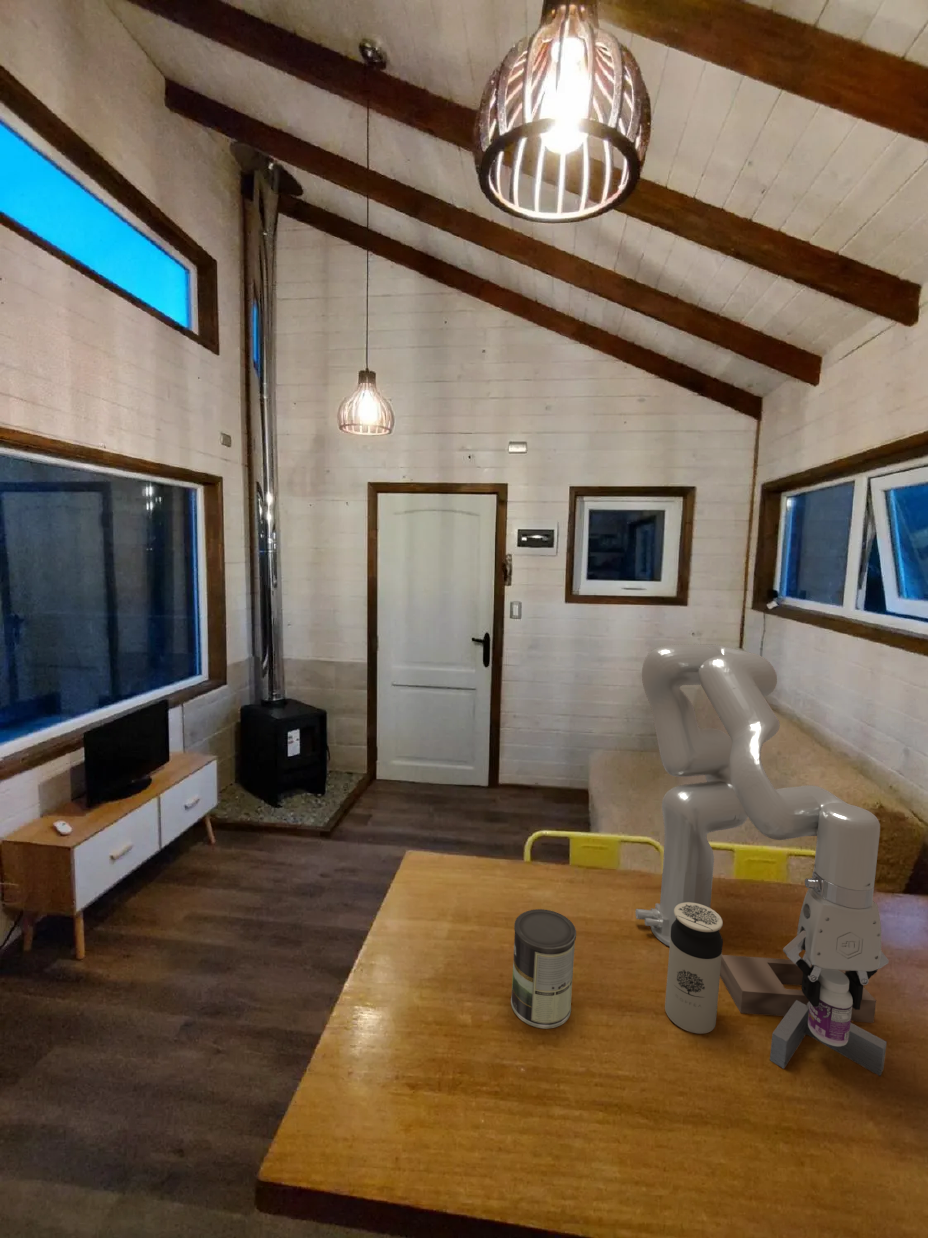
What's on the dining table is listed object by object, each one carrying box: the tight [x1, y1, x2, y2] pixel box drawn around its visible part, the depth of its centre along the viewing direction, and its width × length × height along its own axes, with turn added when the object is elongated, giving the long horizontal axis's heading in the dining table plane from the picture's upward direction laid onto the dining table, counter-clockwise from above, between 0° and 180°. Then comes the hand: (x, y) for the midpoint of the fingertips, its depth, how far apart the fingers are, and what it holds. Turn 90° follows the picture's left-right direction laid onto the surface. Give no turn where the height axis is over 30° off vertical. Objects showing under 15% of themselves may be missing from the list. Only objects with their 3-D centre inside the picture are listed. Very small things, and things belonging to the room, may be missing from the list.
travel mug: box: [664, 902, 724, 1034], centre depth 95 cm, size 8×8×18 cm
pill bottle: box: [808, 968, 853, 1046], centre depth 87 cm, size 5×5×10 cm
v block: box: [769, 1000, 888, 1077], centre depth 90 cm, size 17×9×4 cm, turn 87°
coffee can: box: [510, 908, 577, 1030], centre depth 96 cm, size 10×10×14 cm
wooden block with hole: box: [720, 954, 877, 1024], centre depth 100 cm, size 22×9×4 cm, turn 87°
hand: (830, 1000), depth 87 cm, fingers closed on pill bottle, 5 cm apart
